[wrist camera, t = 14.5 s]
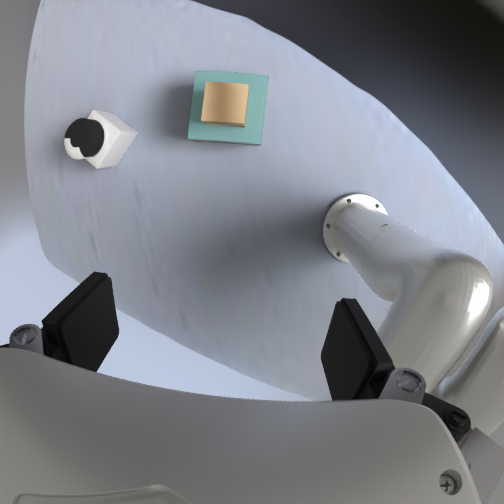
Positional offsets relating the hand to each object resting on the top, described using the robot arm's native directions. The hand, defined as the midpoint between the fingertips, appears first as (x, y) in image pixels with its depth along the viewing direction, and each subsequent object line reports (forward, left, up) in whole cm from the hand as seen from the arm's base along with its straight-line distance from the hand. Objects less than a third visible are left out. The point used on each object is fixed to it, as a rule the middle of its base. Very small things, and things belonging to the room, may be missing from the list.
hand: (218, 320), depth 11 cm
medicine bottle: (+24, -8, -36) cm, 44 cm away
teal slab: (+3, -13, -33) cm, 35 cm away
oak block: (+3, -12, -29) cm, 31 cm away
